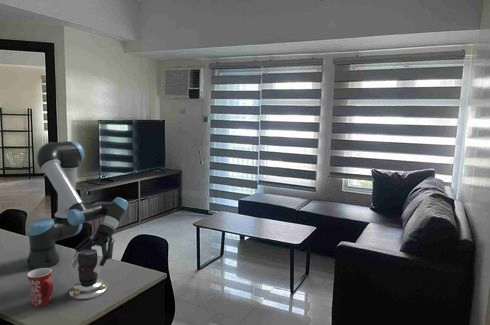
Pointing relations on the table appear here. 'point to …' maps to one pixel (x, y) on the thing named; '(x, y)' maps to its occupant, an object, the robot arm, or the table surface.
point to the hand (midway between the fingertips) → (83, 269)
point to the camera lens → (87, 267)
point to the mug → (40, 286)
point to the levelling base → (87, 294)
